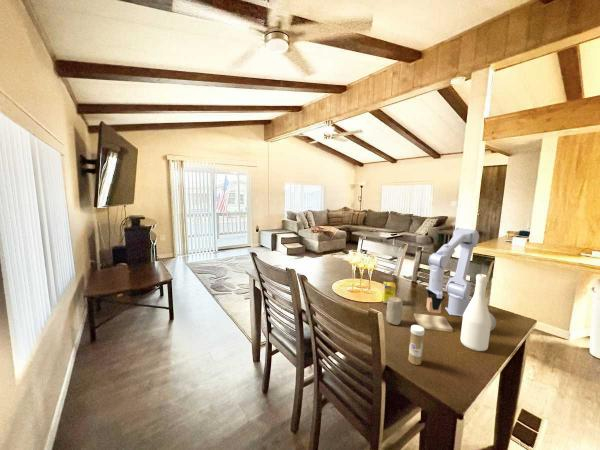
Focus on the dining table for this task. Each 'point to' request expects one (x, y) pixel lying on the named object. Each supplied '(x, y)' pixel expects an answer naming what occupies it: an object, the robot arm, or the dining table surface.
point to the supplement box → (388, 291)
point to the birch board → (433, 322)
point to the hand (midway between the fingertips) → (433, 306)
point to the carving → (394, 310)
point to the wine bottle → (477, 319)
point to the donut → (492, 322)
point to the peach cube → (429, 306)
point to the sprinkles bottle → (416, 344)
